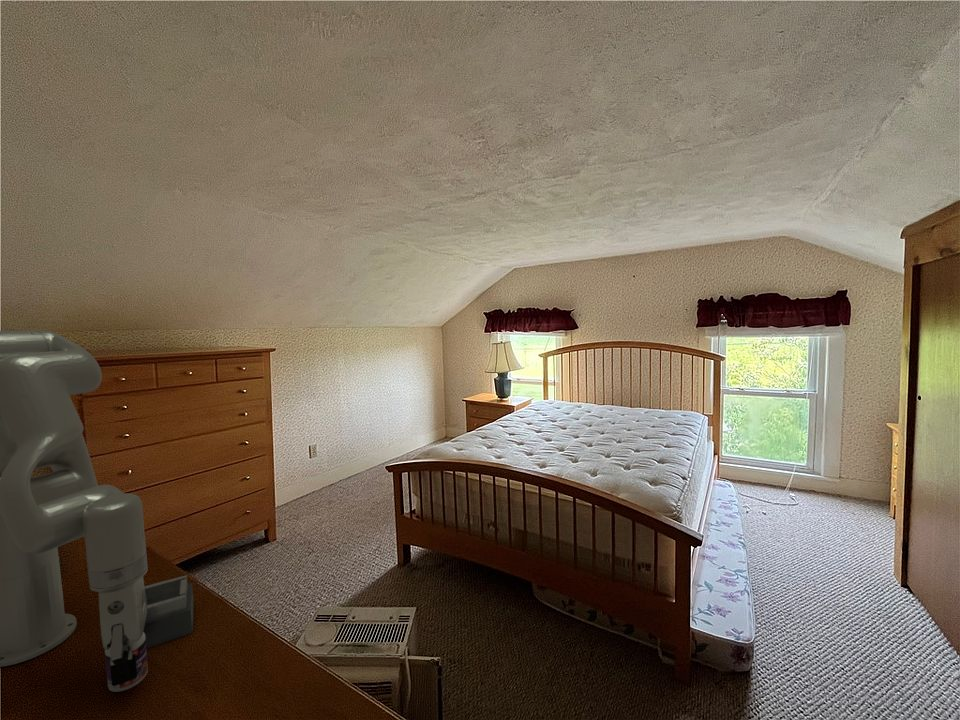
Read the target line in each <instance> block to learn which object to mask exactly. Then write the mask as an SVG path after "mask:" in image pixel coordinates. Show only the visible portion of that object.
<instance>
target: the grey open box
mask: <svg viewBox="0 0 960 720" xmlns="http://www.w3.org/2000/svg"><path fill="white" fill-rule="evenodd" d="M188 581H189V580H188V574H186V575H182V576H178V577H174V578H171V579H167V580H163V581H159V582H156V583H152V584H148V585H144V587H145V594H146V601H147V615H146V621H145V626H144V631H143V632H144V633H145V637H146V649H149V648H151V647H155V646H158V645H161V644H163V643H164V644H165V643H167V642H169V641H174V640H176V639H179V638H182V637H185V636H189V635H191V634H193V629H194V628H193V627H194V609H195V608H194V606H195V604H194V593H193V592H194V589H193V582H190V583H189V582H188Z"/></svg>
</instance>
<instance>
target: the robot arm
mask: <svg viewBox="0 0 960 720" xmlns="http://www.w3.org/2000/svg"><path fill="white" fill-rule="evenodd" d="M102 378H103V374H102V370H101V366H100V365H99V363H98V361H97V360H96V358H95V357H94V356H93V355H92V354H91V353H90V352H89V351H88V350H87V349H85V348H83V347H82V346H80V345H79V344H77V343H75V342H74V341H71V340H69V339H68V338H67V337H64V336H63V335H61V334H59V333H57V332H54V331H52V330H51V331H50V330H45V329H24V330H22V329H21V330H20V329H19V330H14V329H13V330H0V668H2V667H9V666H13V665H18V664H21V663H22V662H26V661H29V660H31V659H34V658H36V657H38V656H41V655H43V654H45V653H47V652H49V651H51V650H52V649H54V648H56V647H57V646H58V645H60V644H62V643H64V641H65V640H67V639H68V638H69V637H70V636H71V635H72V634H73V633H74V632H75V630H76V629H77V624H78V622H77V617H75V615H73V614H71V613H65V603H64V595H63V585H62V574H61V566H60V557H59V549H58V548H59V547H62V546H64V545H66V544H68V543H70V542H73V541H76V540H78V539H81V538H83V537H84V543H85V554H86V555H85V556H86V563H87V565H86V566H87V575H88V576H87V577H88V584H89V585H88V587H89V589H90V590H91V591H93V592H98V610H99V624H100V625H99V626H100V636H101V637H100V638H101V642H102V647H103V649H104V651H105V650H109V648H110V670H111V680H112V686H116V685H119V684H122V683H125V682H127V681H130V680H133V679H135V678H136V677H137V665H136V654H134V655H133V641H138V640H139V639H140V638H141V637H142V635H143V631H144V626H145V621H146V615H147V601H146V594H145V587H144V586H145V580H144V576H145V575H146V574H147V572H148V571H149V570H148V568H149V567H148V556H147V545H146V533H145V520H144V508H143V501H142V499H141V497H140V496H138V495H137V494H135V493H130V492H129V493H124V492H123V491H122V490H120V489H119V488H118V487H117V486H114V485H111V484H100V485H98V480H97V476H96V473H95V470H94V467H93V464H92V460H91V456H90V453H89V450H88V447H87V444H86V440H85V437H84V435H83V433H84V425H83V422H82V420H81V418H80V415H79V413H78V411H77V409H76V407H75V405H74V402H73V400H72V397H71V396H74V395H81V394H87V393H91V392H94V391H95V390H96V389H98V388H99V387H100V385H101V384H102ZM46 467H50V468H51V470H52V472H48V473H44V474H40V475H37V476H32V474H33V471H34V470H37V469H42V468H46ZM126 636H127V638H128V639H125V640H123V637H126ZM127 644H128V651H127V650H125V651H124V650H123V646H124V645H127Z"/></svg>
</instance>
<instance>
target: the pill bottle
mask: <svg viewBox="0 0 960 720" xmlns="http://www.w3.org/2000/svg"><path fill="white" fill-rule="evenodd" d="M125 639H128V638H127V636H126V637H123V640H125ZM123 650H124V651H125V650H127V651H128V644H127V645H124V646H123ZM147 651H148V650H147V648H146V637H145V633H144V632H143V635H142V637H141V638H140V639H139V640H138V641H133V655H134V654H136V665H137V677H136V678H135V679H133V680H130V681H127V682H125V683H122V684H119V685H116V686H112V680H111V670H110V648H109V650H105V649H104V656H105V669H106V679H107V688H108V689H109V690H108V691H111V692H113V693H116V692H119V693H120V692H123V691H127V690H129V689H131V688H134V687H135V686H137V685H138V684H140V683H141V682H142V681H143V680H144V679H145V677H146V676H147V674H148V672H149V665H148V653H147Z"/></svg>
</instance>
